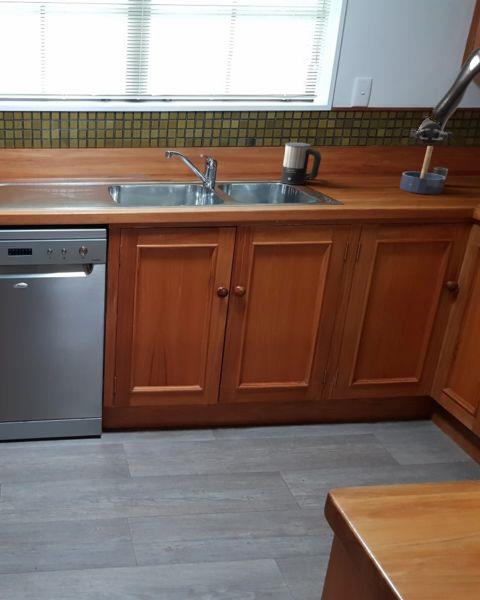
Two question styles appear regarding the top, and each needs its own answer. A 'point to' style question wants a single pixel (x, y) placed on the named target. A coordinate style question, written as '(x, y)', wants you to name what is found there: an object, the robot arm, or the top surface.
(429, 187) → the bowl
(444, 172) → the holder
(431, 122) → the robot arm
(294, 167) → the milk frother
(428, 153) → the stick
